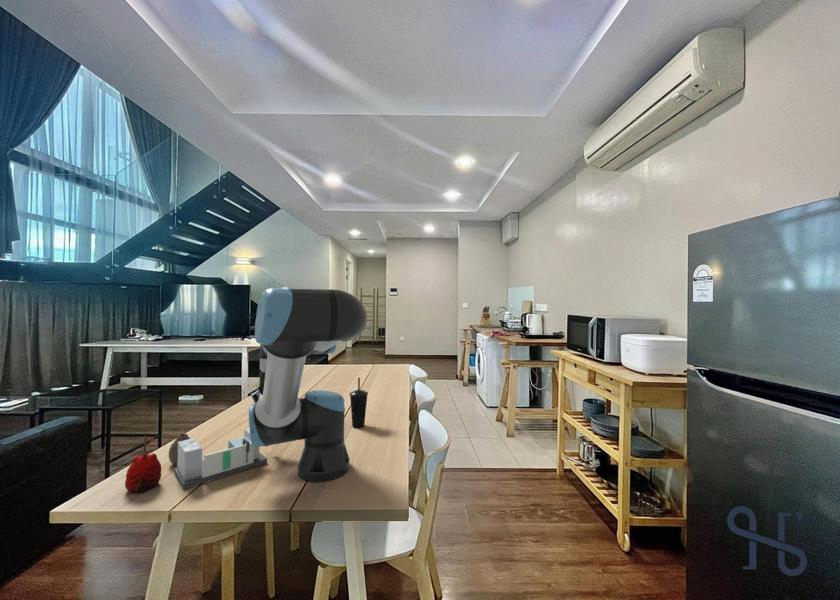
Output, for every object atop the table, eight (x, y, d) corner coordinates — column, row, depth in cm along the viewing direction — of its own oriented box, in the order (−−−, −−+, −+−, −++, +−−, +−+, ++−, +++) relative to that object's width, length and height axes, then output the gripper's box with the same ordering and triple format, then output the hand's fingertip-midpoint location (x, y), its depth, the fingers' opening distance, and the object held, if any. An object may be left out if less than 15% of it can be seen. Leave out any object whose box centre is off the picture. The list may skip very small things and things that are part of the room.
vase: (190, 466, 104) (191, 437, 104) (164, 469, 102) (164, 440, 102) (198, 456, 111) (198, 429, 111) (173, 459, 109) (174, 432, 109)
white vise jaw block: (201, 476, 95) (202, 448, 95) (184, 482, 92) (185, 452, 92) (193, 464, 102) (194, 438, 102) (177, 469, 99) (177, 441, 99)
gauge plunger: (262, 460, 104) (262, 437, 104) (238, 467, 100) (239, 443, 100) (249, 449, 112) (249, 428, 113) (227, 455, 108) (227, 433, 108)
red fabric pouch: (161, 478, 97) (162, 425, 97) (160, 489, 91) (162, 433, 91) (126, 487, 92) (127, 431, 92) (123, 498, 86) (124, 439, 87)
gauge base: (267, 463, 106) (267, 439, 106) (183, 489, 91) (183, 461, 91) (253, 451, 115) (253, 429, 115) (174, 473, 99) (175, 448, 99)
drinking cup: (370, 427, 139) (371, 378, 140) (353, 430, 135) (354, 380, 135) (363, 421, 146) (363, 375, 146) (346, 425, 141) (346, 377, 142)
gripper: (286, 366, 121) (285, 432, 120) (247, 371, 112) (246, 442, 111) (295, 369, 115) (294, 438, 115) (255, 374, 106) (253, 449, 106)
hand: (270, 440), depth 113 cm, fingers closed
